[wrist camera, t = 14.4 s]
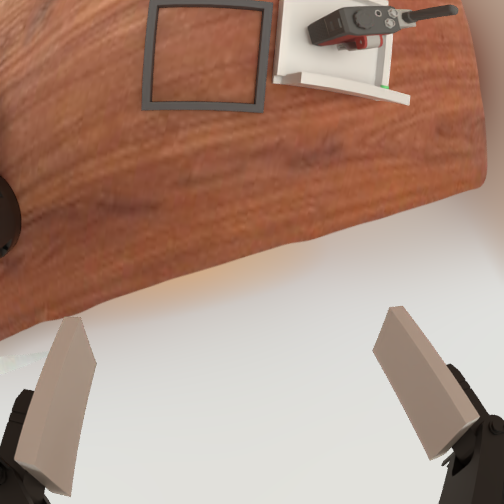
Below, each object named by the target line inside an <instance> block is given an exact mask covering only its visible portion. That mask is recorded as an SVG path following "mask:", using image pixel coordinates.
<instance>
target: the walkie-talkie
mask: <svg viewBox="0 0 504 504" xmlns="http://www.w3.org/2000/svg"><path fill="white" fill-rule="evenodd" d="M457 13H458V8H457V7H456V6H454V5H445V6H439V7H432V8H427V9H422V10H417V11H412V10H405V9H395V8H394V7H391V6H354V7H343V8H340V9H338V10H336V11H334V12H332V13H330V14H328V15H326V16H324V17H322V18H321V19H319V20H317V21H315V22H313V23H311V24H310V25H309V26H308V27H307V28H308V32H309V35H310V38H311V42H312V44H313V45H316V46H328V45H335V44H337V45H336V46H337V49H338V51H340V50H348V51H355V50H365V49H371V48H378V47H381V46H382V44H383V38H382V36H383V35H389V34H393V33H395V32H397V31H399V30H401V29H403V28H408V27H415V26H416V23H415V22H417V21H418V20H423V19H429V18H436V17H442V16H449V15H456V14H457Z"/></svg>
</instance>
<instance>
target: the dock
mask: <svg viewBox="0 0 504 504" xmlns="http://www.w3.org/2000/svg"><path fill="white" fill-rule="evenodd" d="M354 6H388V1H386V0H279V9H278V20H277V31H276V42H275V53H274V64H273V75H272V83H275V84H284V85H292V86H299V87H307V88H313V89H320V90H326V91H332V92H338V93H343V94H348V95H353V96H358V97H363V98H368V99H372V100H377V101H379V100H380V101H387V102H393V103H398V104H404V105H409V103H410V95H407V94H403V93H400V92H396V91H392V90H389V86H388V84H389V75H390V65H391V54H392V41H393V34H389V35H383V36H382V38H383V44H382V46H381V47H378V48H371V49H365V50H355V51H348V50H340V51H338V49H337V46H336V45H337V44H335V45H328V46H316V45H313V44H312V42H311V38H310V35H309V32H308V28H307V27H308V26H309V25H310V24H311V23H313V22H315V21H317V20H319V19H321V18H322V17H324V16H326V15H328V14H330V13H332V12H334V11H336V10H338V9H340V8H343V7H354Z"/></svg>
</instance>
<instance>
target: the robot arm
mask: <svg viewBox="0 0 504 504" xmlns="http://www.w3.org/2000/svg"><path fill="white" fill-rule="evenodd" d="M20 228H21V217H20V210H19V206H18V203H17V200H16V197H15V195H14V193H13V191H12V189H11V188H10V186H9V185H8V184H7V182H6V181H5V180H4V179H3V178H2V177H1V176H0V258H2V257H3V256H5V255H6V254H7V253H8V252H9V251H10V250H11V249H12V248H13V246H14V245H15V244H16V242H17V240H18V237H19V234H20ZM373 353H374V354H375V356H376V358H377V360H378V362H379V363H380V365H381V367H382V369H383V371H384V373H385V374H386V376H387V378H388V380H389V382H390V384H391V385H392V387H393V389H394V391H395V392H396V395H397V397H398V398H399V400H400V402H401V404H402V406H403V408H404V410H405V412H406V414H407V416H408V418H409V420H410V421H411V423H412V425H413V427H414V429H415V431H416V433H417V435H418V437H419V439H420V441H421V443H422V445H423V447H424V449H425V451H426V453H427V455H428V458H429V460H433V459H435V458H438V457H440V456H442V455H444V454H445V453H446V452H447V451H448V450H449V449H450V448H451V447H452V449H453V451H454V452H453V453H452V454H451V455H450V456H449V457H448V458H447V459H445V460H444V461H443V463H442V466H444V465H445V464H446V463H447V462H449V464H448V465H447V467H448V471H447V474H446V478H445V482H444V486H443V490H442V494H441V497H440V501H439V504H504V420H503V419H502V418H501V417H499V416H497V415H489V414H488V413H487V412H486V410H485V408H484V407H483V405H482V404H481V402H480V401H479V399H478V397H477V396H476V394H475V393H474V392H473V390H472V389H470V386H469V384H468V383H467V382H466V381H465V378H464V377H463V376H462V374H461V373H460V371H459V370H458V369H456V368H455V367H454V366H453V365H452V364H448V365H446V364H445V363H444V361H443V360H442V358H441V357H440V356H439V354H438V353H437V352H436V350H435V349H434V347H433V346H432V345H431V343H430V342H429V340H428V339H427V338H426V336H425V335H424V333H423V332H422V331H421V329H420V328H419V327H418V325H417V324H416V323H415V321H414V320H413V319H412V317H411V316H410V315H409V313H408V312H407V311H406V310H405V308H404V307H403V306H398V307H389V310H388V313H387V315H386V318H385V321H384V323H383V326H382V328H381V331H380V333H379V336H378V339H377V341H376V343H375V346H374V348H373ZM96 364H97V363H96V361H95V358H94V356H93V353H92V350H91V347H90V344H89V341H88V338H87V335H86V332H85V329H84V326H83V323H82V320H81V317H64V319H63V321H62V324H61V326H60V328H59V330H58V333H57V335H56V337H55V340H54V342H53V345H52V347H51V349H50V352H49V354H48V357H47V359H46V362H45V364H44V367H43V369H42V372H41V375H40V377H39V380H38V383H37V385H36V388H35V391H32V390H26V389H24V390H23V391H22V392H21V394H20V395H19V396H18V397H17V398H16V400H15V403H14V405H13V408H12V413H11V414H10V417H9V422H8V423H7V426H6V429H5V432H4V435H3V439H2V442H1V446H0V504H50V502H49V500H48V499H47V497H46V496H45V495H44V490H45V487H46V488H47V489H48V490H49V491H51V492H52V493H56V494H60V495H65V496H69V497H71V490H72V482H73V475H74V469H75V462H76V456H77V450H78V444H79V439H80V434H81V428H82V423H83V419H84V414H85V409H86V405H87V400H88V396H89V392H90V387H91V384H92V379H93V375H94V372H95V368H96Z"/></svg>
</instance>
